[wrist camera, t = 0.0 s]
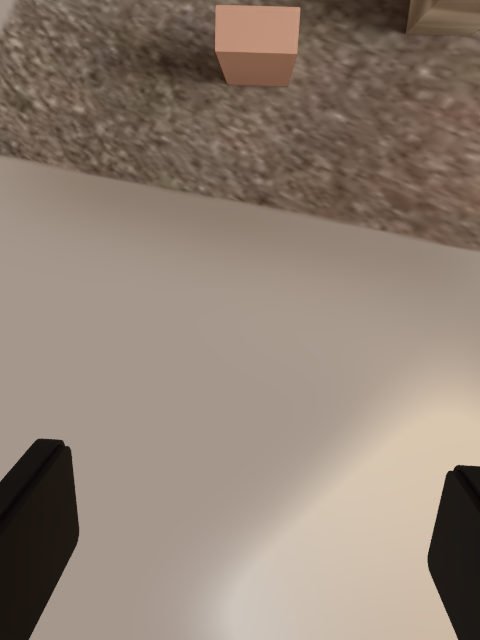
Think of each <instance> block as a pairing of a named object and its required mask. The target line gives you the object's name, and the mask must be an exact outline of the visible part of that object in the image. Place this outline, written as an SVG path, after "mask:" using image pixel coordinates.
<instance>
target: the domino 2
mask: <svg viewBox="0 0 480 640" xmlns="http://www.w3.org/2000/svg"><path fill="white" fill-rule="evenodd" d="M479 29H480V0H410V7H409V14H408V21H407V28H406V34H424V35H459V36H470V35H472V34H473V33H475V32H476V31H478V30H479Z"/></svg>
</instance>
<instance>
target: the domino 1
mask: <svg viewBox="0 0 480 640" xmlns="http://www.w3.org/2000/svg"><path fill="white" fill-rule="evenodd" d="M299 21H300V7H273V6H235V5H216V31H215V52H216V55H217V58H218V60H219V63H220V66H221V68H222V71H223V73H224V76H225V79H226V81H227V84H228V85H247V86H278V87H288V85H289V81H290V78H291V74H292V71H293V67H294V63H295V60H296V56H297V49H298V35H299Z"/></svg>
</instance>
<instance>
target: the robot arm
mask: <svg viewBox="0 0 480 640" xmlns="http://www.w3.org/2000/svg"><path fill="white" fill-rule="evenodd" d="M78 537H79V523H78V513H77V504H76V495H75V484H74V475H73V465H72V456H71V450H70V447H68V446H65V444H64V442H63V441H62V440H55V439H54V440H53V439H37V440H36V441H35V442H34V443H33V444H32V446H31V447H30V448H29V449H28V450H27V451H26V452H25V454H24V455H23V456H22V457H21V458H20V459H19V461H18V462H17V463H16V464H15V466H13V468H12V469H11V470H10V471H9V472H8V473H7V475H6V476H5V477H4V478H3V479H2V480H1V482H0V640H29V638H30V636H31V634H32V632H33V630H34V628H35V625H36V624H37V622H38V620H39V618H40V616H41V614H42V612H43V610H44V608H45V606H46V604H47V603H48V600H49V599H50V597H51V595H52V592H53V591H54V588H55V587H56V585H57V583H58V581H59V579H60V577H61V575H62V573H63V571H64V569H65V567H66V565H67V563H68V561H69V559H70V557H71V555H72V553H73V551H74V549H75V547H76V545H77V542H78ZM428 567H429V571H430V573H431V576H432V578H433V581H434V583H435V586H436V588H437V590H438V593H439V595H440V597H441V600H442V602H443V604H444V607H445V609H446V612H447V614H448V616H449V618H450V621H451V623H452V626H453V628H454V630H455V633H456V635H457V638H458V640H480V466H464V465H458V466H456V467H455V468H454V470H453V471H448V473H447V475H446V478H445V483H444V487H443V491H442V496H441V500H440V505H439V509H438V514H437V518H436V522H435V526H434V531H433V535H432V539H431V543H430V548H429V552H428Z"/></svg>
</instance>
